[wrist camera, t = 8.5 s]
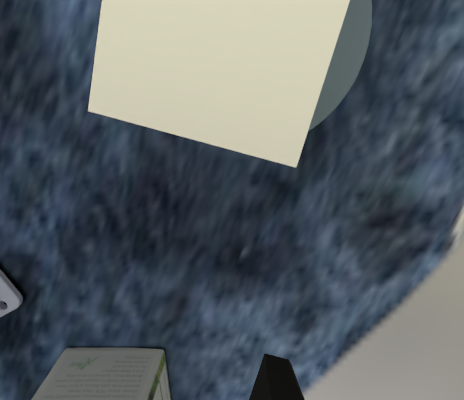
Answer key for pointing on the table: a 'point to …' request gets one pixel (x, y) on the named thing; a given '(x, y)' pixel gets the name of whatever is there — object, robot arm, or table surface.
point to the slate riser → (345, 59)
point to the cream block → (217, 69)
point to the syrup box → (107, 375)
